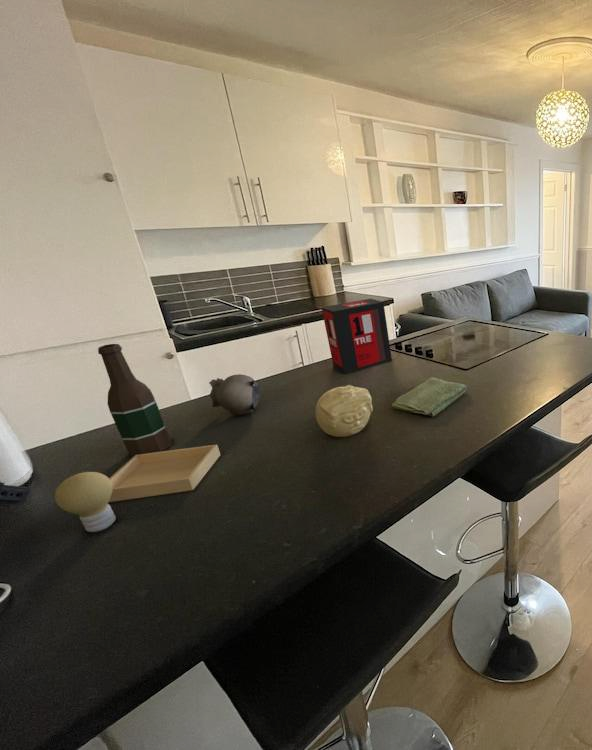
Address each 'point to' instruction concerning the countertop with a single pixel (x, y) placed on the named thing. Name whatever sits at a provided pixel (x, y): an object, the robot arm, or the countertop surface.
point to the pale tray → (162, 472)
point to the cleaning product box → (357, 334)
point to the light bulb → (87, 499)
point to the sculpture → (344, 410)
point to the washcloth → (430, 397)
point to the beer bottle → (133, 406)
